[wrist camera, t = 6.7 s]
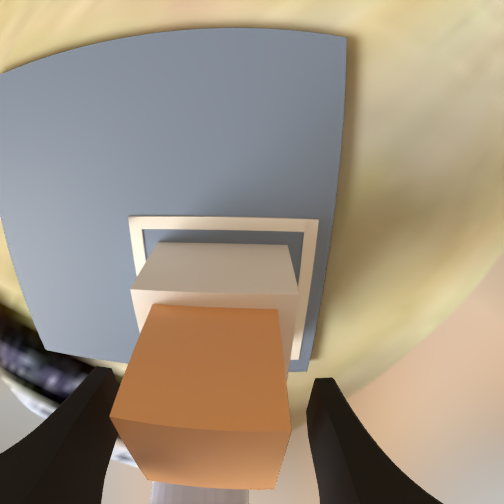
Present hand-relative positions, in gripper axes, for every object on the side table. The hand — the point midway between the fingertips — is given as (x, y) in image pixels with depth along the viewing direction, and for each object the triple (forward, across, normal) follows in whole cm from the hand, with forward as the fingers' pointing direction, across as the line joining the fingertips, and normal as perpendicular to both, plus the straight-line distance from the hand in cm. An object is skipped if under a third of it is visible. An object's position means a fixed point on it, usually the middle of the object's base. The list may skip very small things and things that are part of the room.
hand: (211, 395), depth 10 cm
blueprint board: (+7, +4, -4) cm, 9 cm away
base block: (+6, 0, 0) cm, 6 cm away
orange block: (+2, 0, 0) cm, 2 cm away
